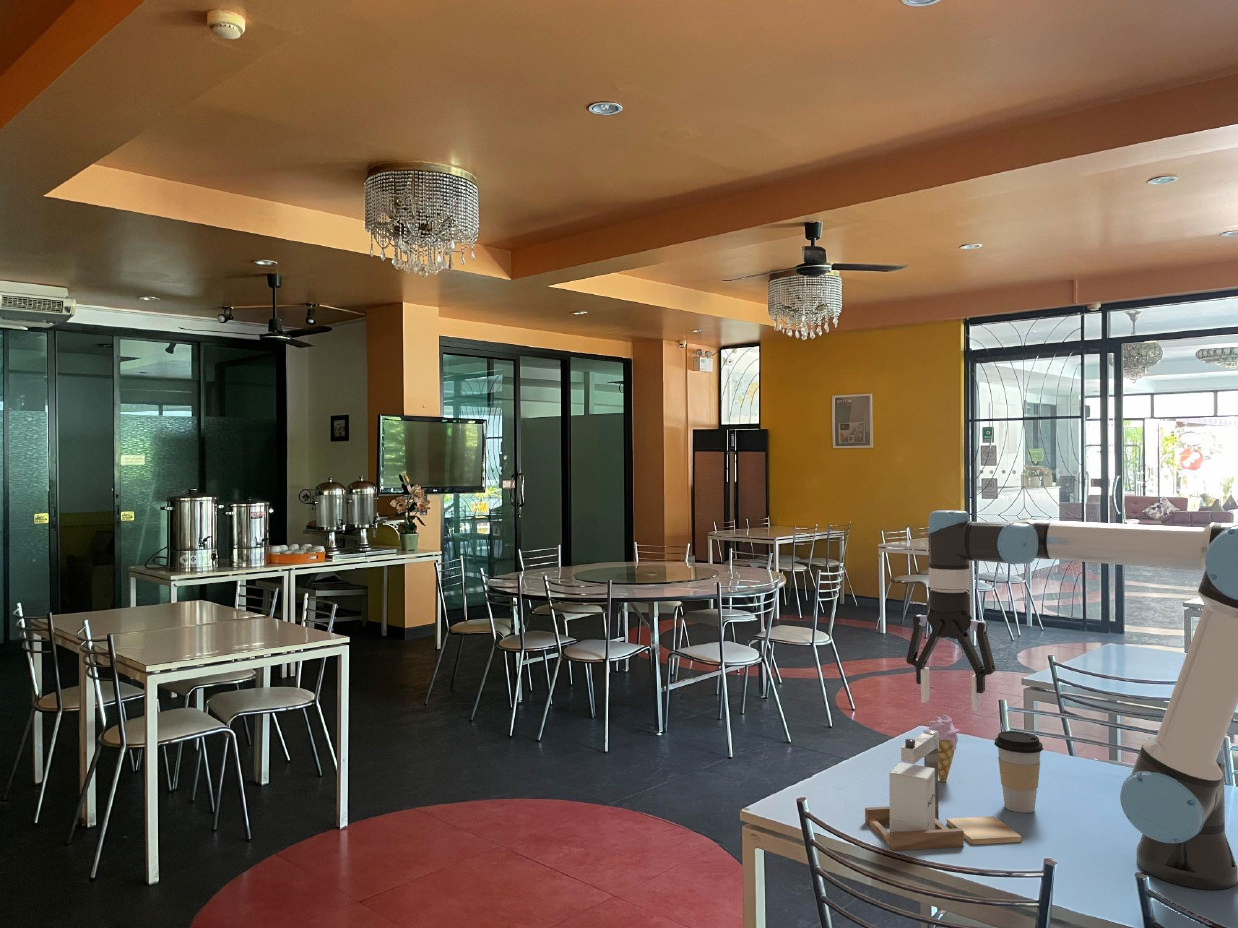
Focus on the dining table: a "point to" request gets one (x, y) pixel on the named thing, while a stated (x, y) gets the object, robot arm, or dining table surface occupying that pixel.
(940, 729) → the ice cream cone
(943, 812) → the dining table surface
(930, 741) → the bar
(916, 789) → the supplement box
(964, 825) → the pad
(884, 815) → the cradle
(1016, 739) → the coffee cup
